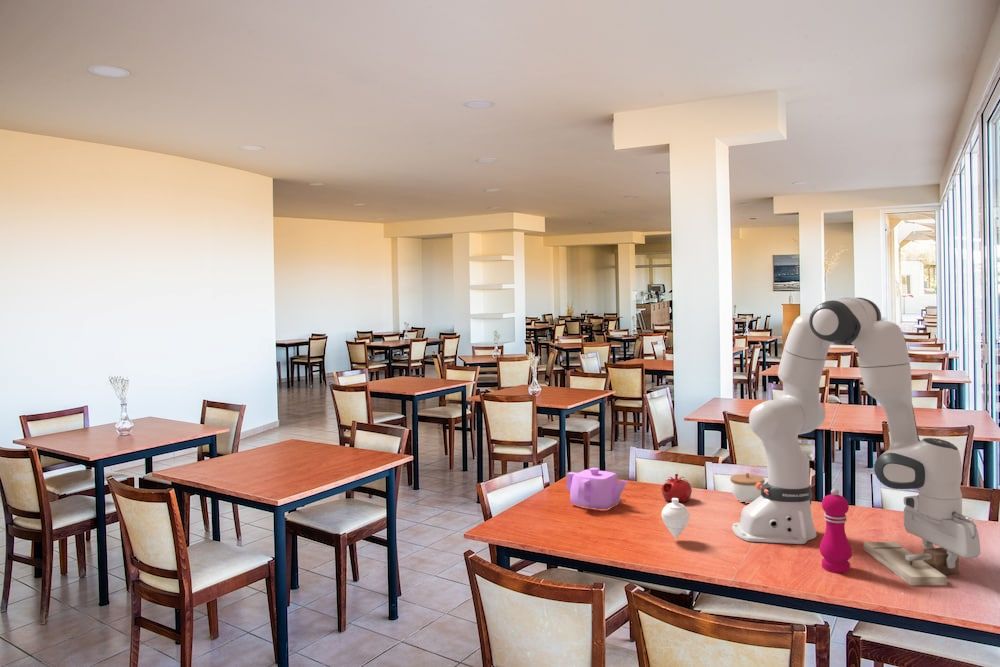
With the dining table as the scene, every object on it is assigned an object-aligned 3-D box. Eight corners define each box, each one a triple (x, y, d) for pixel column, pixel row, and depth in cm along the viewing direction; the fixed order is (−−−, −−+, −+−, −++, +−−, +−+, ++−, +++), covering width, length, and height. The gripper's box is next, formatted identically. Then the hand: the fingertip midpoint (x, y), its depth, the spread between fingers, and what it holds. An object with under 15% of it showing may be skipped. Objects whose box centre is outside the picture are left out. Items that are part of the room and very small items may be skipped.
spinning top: (690, 537, 193) (690, 495, 193) (689, 546, 186) (688, 503, 186) (663, 534, 196) (662, 493, 196) (660, 544, 189) (659, 501, 188)
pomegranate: (691, 497, 233) (691, 470, 233) (692, 505, 224) (692, 477, 223) (661, 495, 236) (661, 469, 235) (661, 503, 226) (661, 476, 225)
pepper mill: (813, 563, 171) (812, 485, 171) (841, 562, 172) (840, 484, 171) (830, 575, 164) (829, 493, 163) (858, 573, 165) (857, 491, 164)
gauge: (913, 577, 161) (913, 556, 161) (901, 571, 165) (901, 551, 165) (959, 573, 163) (958, 552, 162) (945, 567, 167) (945, 547, 166)
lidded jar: (770, 505, 221) (769, 476, 220) (737, 506, 221) (736, 477, 220) (758, 496, 231) (757, 468, 231) (726, 496, 232) (726, 469, 231)
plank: (911, 585, 157) (910, 576, 157) (863, 549, 180) (863, 541, 180) (946, 585, 156) (946, 576, 156) (894, 549, 179) (894, 541, 179)
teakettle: (564, 499, 235) (563, 464, 234) (610, 495, 238) (609, 460, 237) (579, 514, 218) (578, 476, 217) (629, 509, 221) (628, 472, 221)
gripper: (988, 518, 154) (988, 578, 154) (921, 494, 174) (921, 547, 175) (962, 520, 153) (963, 581, 153) (898, 496, 173) (899, 549, 174)
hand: (940, 562), depth 164 cm, fingers open, 4 cm apart
